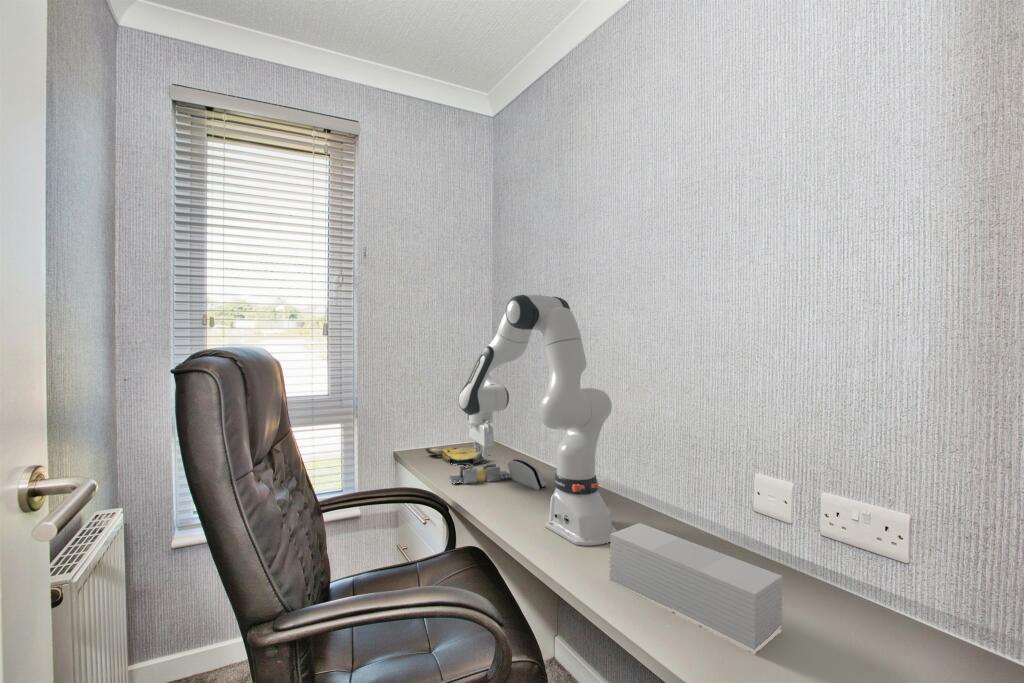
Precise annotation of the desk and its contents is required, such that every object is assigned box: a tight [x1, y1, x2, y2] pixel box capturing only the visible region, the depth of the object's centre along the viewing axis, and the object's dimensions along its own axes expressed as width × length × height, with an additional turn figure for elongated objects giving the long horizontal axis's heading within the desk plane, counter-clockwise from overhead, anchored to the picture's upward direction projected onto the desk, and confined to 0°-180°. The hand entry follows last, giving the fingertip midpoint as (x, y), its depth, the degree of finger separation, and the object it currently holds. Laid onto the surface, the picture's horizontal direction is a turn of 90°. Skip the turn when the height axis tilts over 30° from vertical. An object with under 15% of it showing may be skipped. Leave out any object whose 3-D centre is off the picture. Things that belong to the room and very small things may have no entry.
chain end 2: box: [482, 463, 510, 483], centre depth 185 cm, size 6×9×5 cm, turn 111°
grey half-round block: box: [507, 458, 548, 491], centre depth 180 cm, size 17×5×10 cm, turn 34°
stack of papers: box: [609, 522, 784, 650], centre depth 100 cm, size 32×11×11 cm, turn 39°
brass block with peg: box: [477, 467, 490, 482], centre depth 183 cm, size 2×12×5 cm, turn 109°
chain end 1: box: [449, 464, 478, 484], centre depth 181 cm, size 6×9×5 cm, turn 111°
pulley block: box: [424, 447, 492, 466], centre depth 212 cm, size 14×6×30 cm
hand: (481, 454), depth 182 cm, fingers open, 8 cm apart
